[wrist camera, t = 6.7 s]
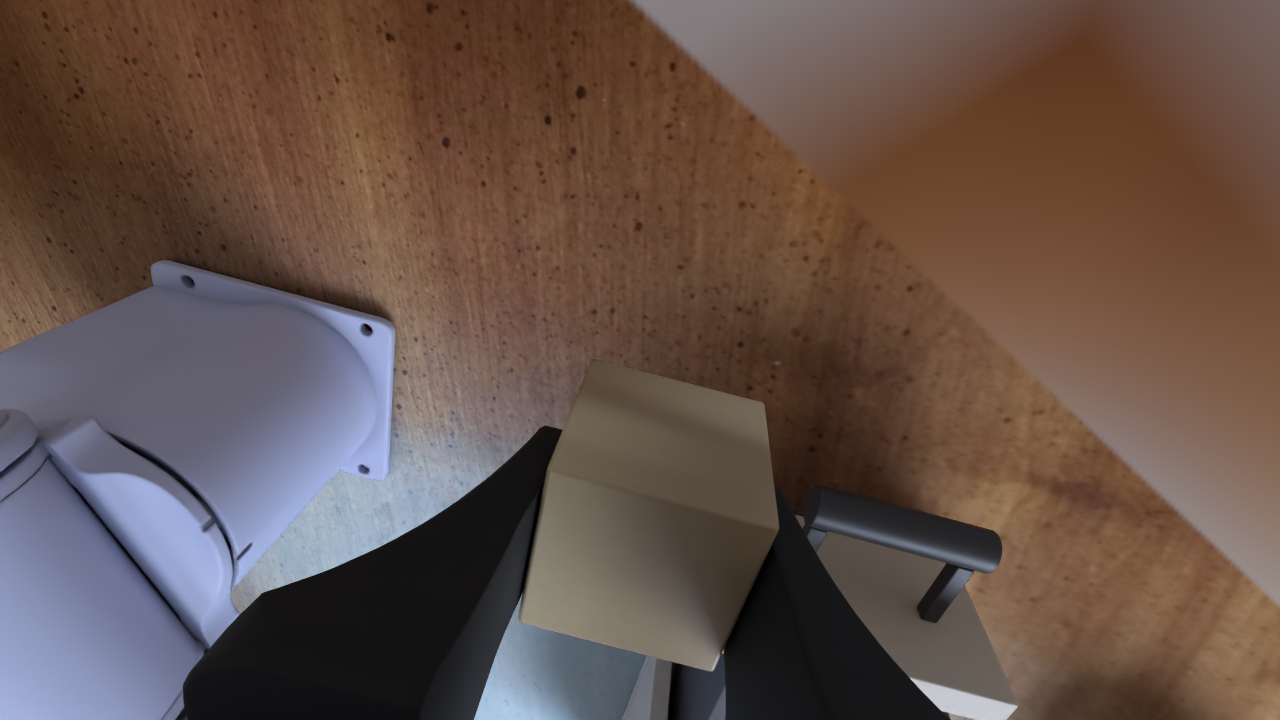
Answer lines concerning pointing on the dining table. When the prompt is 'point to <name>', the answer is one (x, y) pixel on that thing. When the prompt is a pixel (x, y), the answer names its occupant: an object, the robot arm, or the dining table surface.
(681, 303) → the dining table surface
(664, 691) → the cabinet
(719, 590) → the block
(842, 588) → the drawer
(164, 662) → the robot arm
